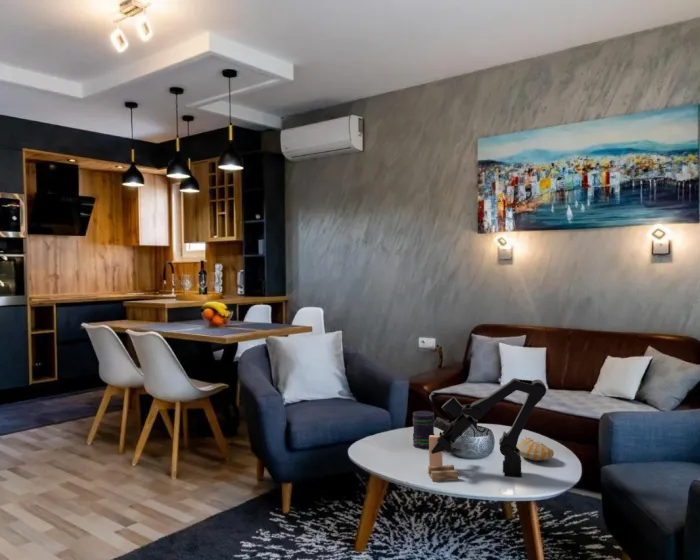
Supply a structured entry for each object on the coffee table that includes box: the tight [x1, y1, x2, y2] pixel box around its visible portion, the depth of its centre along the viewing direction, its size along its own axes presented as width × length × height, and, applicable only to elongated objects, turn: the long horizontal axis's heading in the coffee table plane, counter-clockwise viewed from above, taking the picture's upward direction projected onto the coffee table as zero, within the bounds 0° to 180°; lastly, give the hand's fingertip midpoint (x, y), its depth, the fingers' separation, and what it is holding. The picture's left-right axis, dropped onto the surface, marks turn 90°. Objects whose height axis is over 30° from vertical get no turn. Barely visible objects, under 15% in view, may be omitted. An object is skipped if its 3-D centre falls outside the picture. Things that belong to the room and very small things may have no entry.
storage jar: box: [412, 410, 435, 450], centre depth 260 cm, size 10×10×15 cm
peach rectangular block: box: [428, 434, 444, 466], centre depth 231 cm, size 5×2×13 cm, turn 74°
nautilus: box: [516, 437, 555, 462], centre depth 243 cm, size 8×22×15 cm
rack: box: [427, 464, 459, 482], centre depth 221 cm, size 10×8×3 cm
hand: (432, 451), depth 232 cm, fingers closed on peach rectangular block, 3 cm apart
